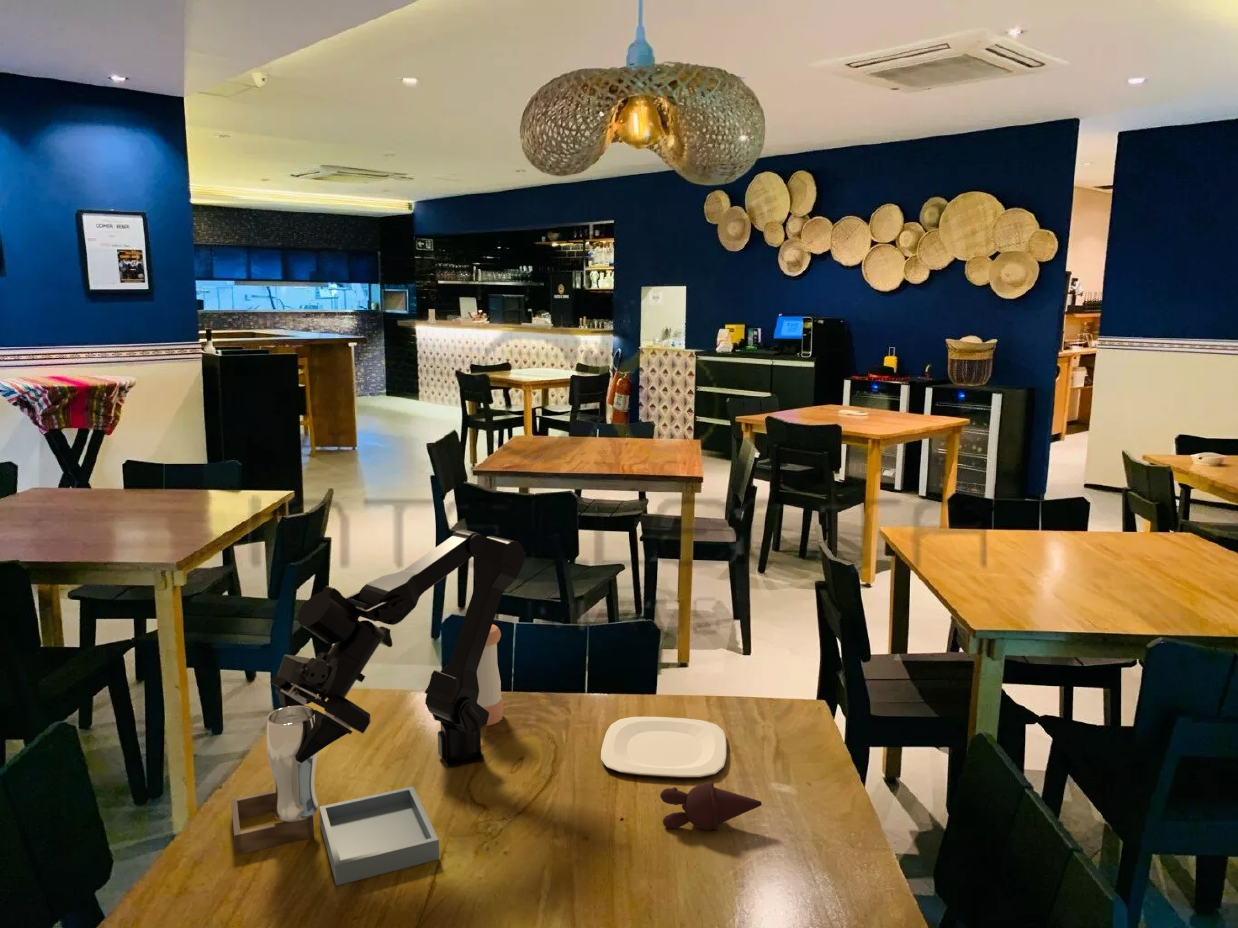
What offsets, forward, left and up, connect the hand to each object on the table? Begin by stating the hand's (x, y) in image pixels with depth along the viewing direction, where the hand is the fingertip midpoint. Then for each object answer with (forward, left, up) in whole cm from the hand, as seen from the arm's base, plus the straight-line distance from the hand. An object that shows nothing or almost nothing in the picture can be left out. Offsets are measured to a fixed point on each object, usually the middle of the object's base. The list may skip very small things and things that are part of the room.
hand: (285, 753), depth 129 cm
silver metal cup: (-1, -1, -10) cm, 10 cm away
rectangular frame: (+2, -4, -13) cm, 14 cm away
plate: (-62, -1, -14) cm, 64 cm away
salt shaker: (-37, -27, -13) cm, 48 cm away
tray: (-11, +6, -13) cm, 19 cm away
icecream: (-57, +23, -13) cm, 63 cm away
